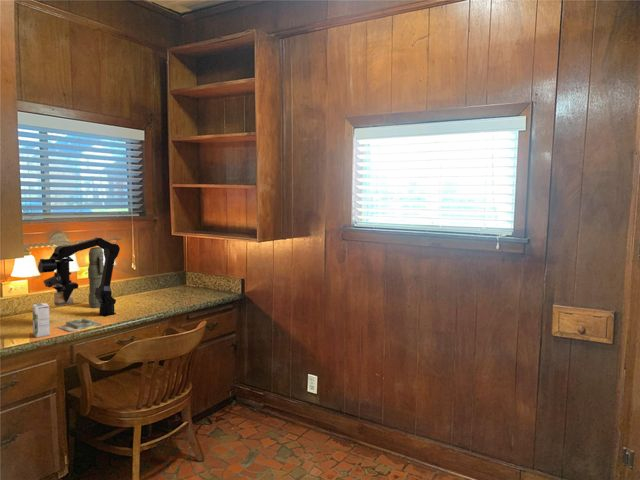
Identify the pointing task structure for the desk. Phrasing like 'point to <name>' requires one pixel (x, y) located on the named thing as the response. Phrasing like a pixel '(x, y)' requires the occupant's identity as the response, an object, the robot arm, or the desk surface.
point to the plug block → (62, 299)
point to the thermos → (95, 274)
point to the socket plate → (79, 325)
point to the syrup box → (41, 320)
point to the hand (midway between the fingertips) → (63, 300)
